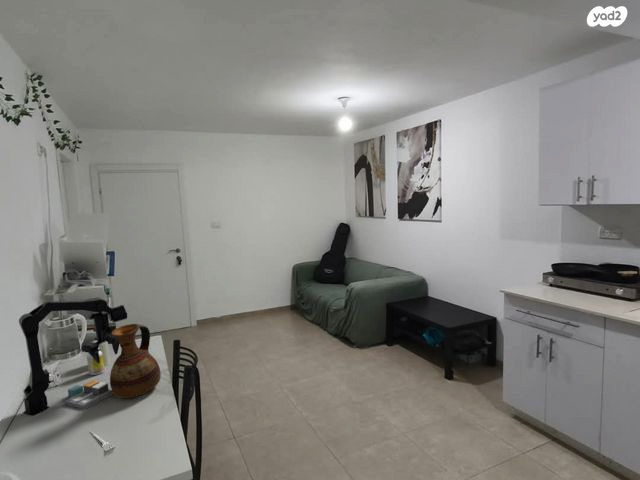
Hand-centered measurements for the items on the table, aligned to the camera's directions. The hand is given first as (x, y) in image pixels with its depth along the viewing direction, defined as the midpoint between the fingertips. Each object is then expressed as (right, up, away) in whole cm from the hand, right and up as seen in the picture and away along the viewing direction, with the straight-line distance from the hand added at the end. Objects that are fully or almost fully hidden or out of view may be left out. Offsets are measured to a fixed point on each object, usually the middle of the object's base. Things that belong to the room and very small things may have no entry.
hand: (107, 358), depth 174 cm
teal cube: (-10, -14, -7) cm, 19 cm away
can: (-18, -11, +26) cm, 33 cm away
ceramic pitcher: (+16, -13, -5) cm, 21 cm away
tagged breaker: (-3, -12, -7) cm, 14 cm away
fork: (+20, -17, -41) cm, 48 cm away
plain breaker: (+2, -12, -9) cm, 15 cm away
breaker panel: (-2, -14, -11) cm, 18 cm away
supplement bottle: (-14, -12, +15) cm, 24 cm away
